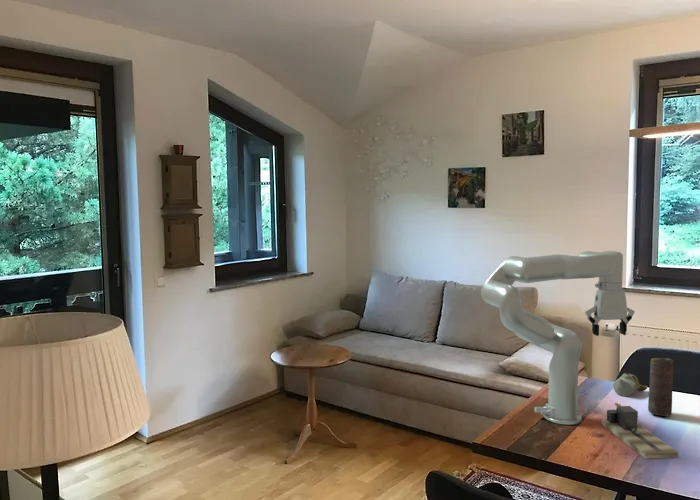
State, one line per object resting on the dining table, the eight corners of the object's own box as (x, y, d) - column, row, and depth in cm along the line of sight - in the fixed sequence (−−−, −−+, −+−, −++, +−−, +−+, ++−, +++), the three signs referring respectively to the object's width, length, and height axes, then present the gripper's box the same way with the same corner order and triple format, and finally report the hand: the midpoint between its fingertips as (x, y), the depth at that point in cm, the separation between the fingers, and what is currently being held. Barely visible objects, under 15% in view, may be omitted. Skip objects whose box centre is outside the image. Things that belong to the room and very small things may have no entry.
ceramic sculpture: (606, 371, 223) (623, 366, 233) (605, 393, 223) (621, 387, 233) (634, 378, 215) (650, 372, 225) (633, 400, 216) (649, 393, 226)
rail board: (677, 457, 169) (678, 451, 169) (644, 458, 169) (645, 453, 168) (630, 422, 195) (630, 418, 195) (601, 423, 194) (601, 419, 194)
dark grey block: (644, 434, 181) (645, 416, 180) (632, 435, 181) (633, 417, 180) (628, 423, 190) (629, 405, 190) (617, 423, 190) (617, 406, 189)
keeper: (631, 422, 191) (632, 406, 191) (611, 423, 191) (611, 407, 190) (625, 418, 195) (625, 402, 195) (605, 418, 195) (605, 402, 194)
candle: (670, 420, 197) (673, 363, 195) (646, 416, 200) (648, 360, 199) (672, 413, 203) (674, 357, 201) (648, 409, 207) (650, 355, 205)
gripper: (591, 288, 196) (590, 337, 198) (640, 287, 197) (638, 336, 199) (581, 285, 204) (580, 332, 205) (628, 284, 205) (627, 331, 206)
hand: (609, 334), depth 202 cm, fingers open, 9 cm apart
